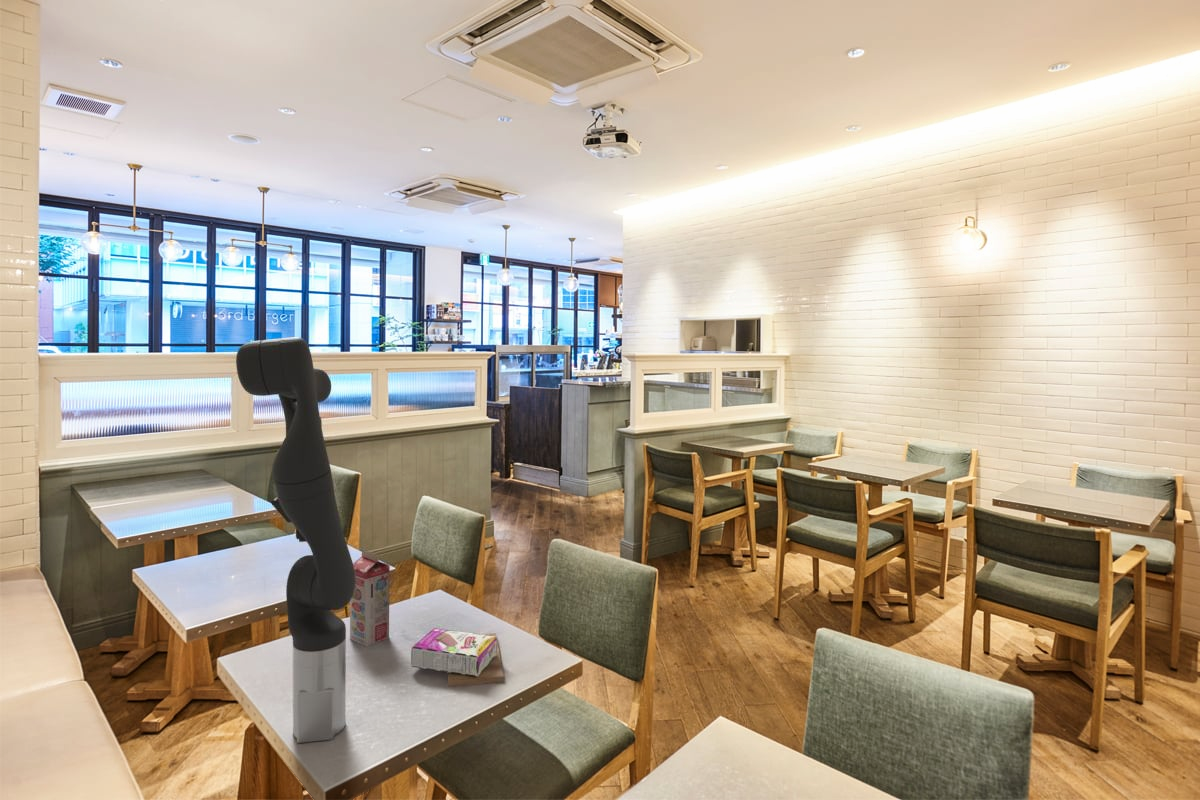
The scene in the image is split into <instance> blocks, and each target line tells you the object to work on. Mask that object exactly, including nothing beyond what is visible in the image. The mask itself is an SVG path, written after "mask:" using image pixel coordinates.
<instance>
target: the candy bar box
mask: <svg viewBox="0 0 1200 800" xmlns="http://www.w3.org/2000/svg"><path fill="white" fill-rule="evenodd" d="M482 634H483V633H482ZM482 634H481V633H474V632H473V633H472V632H466V631H457V630H453V629H452V630H450V629H443V628H437V627H436V628H433V629H432V630H431V631H429V632H428V633H427V634H426V635H425V636H423V638H421V639H420V640H419V641H417V642H416V643H415V644H414V645H413V646H411V650H410V651H411V652H410V655H411V656H410V657H411V662H410V664H411V665H410V667H411V668H418V669H424V670H430V671H435V672H436V671H438V672H444V673H448V672H449V673H456V674H463V675H470V676H476V677H478V676H479V674H480V673H481V672H482V671H483V670H484V669H485V668H486V666H487V665H488V664H489V663H490V662H491V661H492V660H493V659H494V657H495V656H496V653H497V643H498V636H497V635H496V636H490V635H482Z"/></svg>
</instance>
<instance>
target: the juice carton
mask: <svg viewBox="0 0 1200 800" xmlns="http://www.w3.org/2000/svg"><path fill="white" fill-rule="evenodd" d="M353 566H354V570H355V579H356V582H355V590H354V594H353V596H352V599H351V600H350V602H349V639H350V640H351V641H353V642H355V643H357V644H359V645H361V646H363V647H365V648H366V647H369V646H371V645H374V644H377V643H379V642H382V641H384V640H386V639H390V570H391V569H390V568H391V567H390V564H388V563H385V562H381V561H380V555H379V554H375V553H373V552H370V551H367V550H366V549H362V550H361V556H360V557H358V559H357V560H355V561H354V562H353Z"/></svg>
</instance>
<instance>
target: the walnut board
mask: <svg viewBox="0 0 1200 800" xmlns="http://www.w3.org/2000/svg"><path fill="white" fill-rule="evenodd" d="M482 635H490V636H497V633H495V632H494V633H482ZM501 659H502V658H501V654H500V649H499V644H498V642H497V653H496V656H495V657H494V659H493V660H492V661H491V662H490V663H489V664H488V665H487V666H486V668H485V669H484V670H483V671H482V672H481V673H480V674H479V676H478V677H476V676H470V675H463V674H456V673H449V672H447V687H457V686H458V687H459V686H470V685H471V686H472V685H481V684H491V683H501V682H502V681H504V678H505V676H504V671H503V666H502V661H501Z"/></svg>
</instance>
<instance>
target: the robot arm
mask: <svg viewBox="0 0 1200 800" xmlns="http://www.w3.org/2000/svg"><path fill="white" fill-rule="evenodd" d="M235 362H236V363H235V366H236V367H235V368H236V373H237V377H238V379H239V383H240V385H241V387H242V389H243V390H244V391H246V392H247V393H248V394H249V395H252V396H257V397H258V396H259V397H263V396H264V397H265V396H274V395H275V396H277V395H278V398H279V401H280V404H281V407H282V411H283V415H284V416H283V417H284V420H285V438H284V439H283V441H282V443H281V445H280V447H279V449H278V451H277V452H276V453H277V454H276V456H275V458H274V460H273V464H272V477H273V480H274V481H273V482H274V485H275V486H274V487H275V490H276V494H277V497H275V498H274V499H272V500H271V505H272V507H274V509H275V510H276V511H277V512H278V513H279V514H280V516H282V518H283V519H284V520H285V521H286V522H287V523H292V524H293V526H294V527H295V538H296V540H298V542H300V543H304V542H305V543H307V544H308V547H309V548H310V552H311V553H312V554H309V555H304V556H302V557H300V558H298V559H297V560H296V561H295V562H294V563H293V565H292V567H290V568H291V569H290V570H289V573H288V575H287V580H286V586H285V587H286V592H285V593H286V597H285V598H286V611H287V612H286V613H287V627H288V631H289V634H290V636H291V637H292V729H293V730H292V733H293V736H294V737H295V739H296V742H297V743H298V744H300V743H310V742H319V741H320V742H321V741H329V740H333V739H334V737H335V736H336V735H337V734H339V733H340V732H341V731H342V730H344V727H346V721H347V720H346V718H347V717H346V716H347V715H346V714H347V713H346V708H347V706H346V704H347V703H346V699H347V698H346V684H347V683H346V677H347V676H346V671H347V670H346V661H347V659H346V657H347V656H346V652H347V651H346V650H347V644H346V642H347V641H346V640H347V630H346V629H347V628H346V627H347V626H346V623H345V621H344V620H342V619H341V618H340V617H339V616H338V615H336V614H335V613H334V612H333V611H339V610H340V609H343V608H345V607H346V606H347V605H348V604H350V600H351V599H352V596H353V594H354V590H355V582H356V579H355V570H354V566H353V563H354V562H353V559H352V556H351V553H350V550H349V546H348V543H347V542H346V541H347V539H346V537H345V534H344V531H343V526H342V521H341V517H340V513H339V508H338V504H337V499H336V492H335V486H334V479H333V475H332V469H331V463H330V460H329V456H328V451H327V448H326V446H327V445H326V443H325V438H324V433H323V427H322V426H323V425H322V424H323V423H322V417H321V416H320V409H319V403H322V402H325V401H326V400H327V399H328V398H329V396H330V395H331V392H332V382H331V377H330V376H329V374H327V372H326V371H324V370H323V369H319V368H314V362H313V357H312V353H311V349H310V347H309V345H308V343H307V341H306V340H305V339H304V338H302V337H301V336H299V337H298V336H294V337H293V336H292V337H281V338H272V339H263V340H259V339H258V340H253V341H250V342H247V343H244V344H243V345H241V346H240V347H239V348H238V349H237V352H236V358H235Z"/></svg>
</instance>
